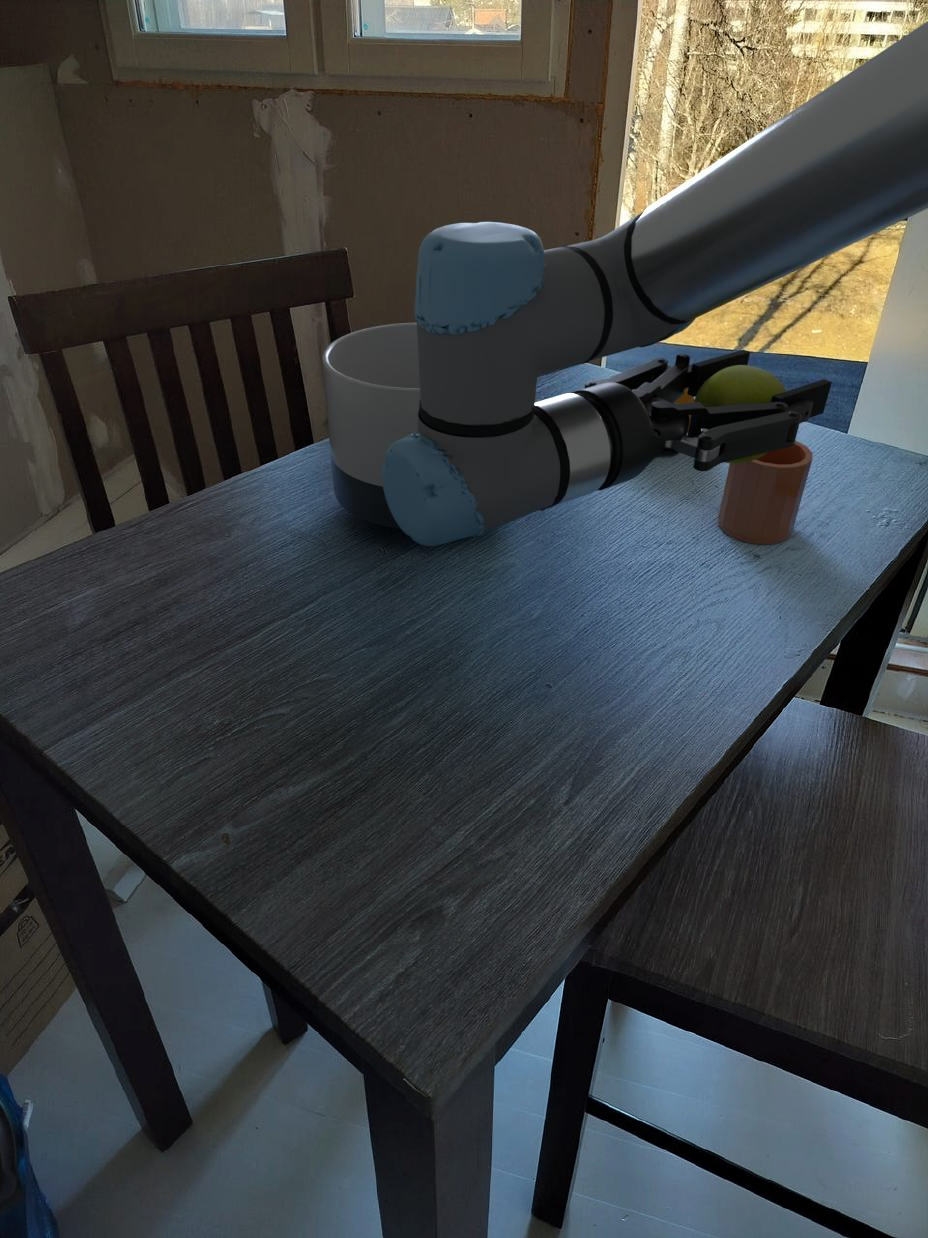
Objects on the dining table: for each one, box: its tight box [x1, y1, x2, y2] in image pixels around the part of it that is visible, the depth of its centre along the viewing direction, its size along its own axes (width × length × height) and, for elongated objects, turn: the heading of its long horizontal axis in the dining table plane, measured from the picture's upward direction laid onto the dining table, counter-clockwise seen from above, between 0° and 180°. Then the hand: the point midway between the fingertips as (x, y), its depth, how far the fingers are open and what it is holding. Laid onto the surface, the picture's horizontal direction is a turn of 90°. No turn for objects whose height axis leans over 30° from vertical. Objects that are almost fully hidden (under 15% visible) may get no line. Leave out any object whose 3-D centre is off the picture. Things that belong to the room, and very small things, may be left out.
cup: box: [717, 439, 814, 545], centre depth 90 cm, size 8×8×9 cm
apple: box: [694, 365, 787, 464], centre depth 72 cm, size 8×9×8 cm
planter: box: [321, 322, 421, 530], centre depth 90 cm, size 19×19×18 cm
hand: (781, 380), depth 73 cm, fingers closed on apple, 8 cm apart
